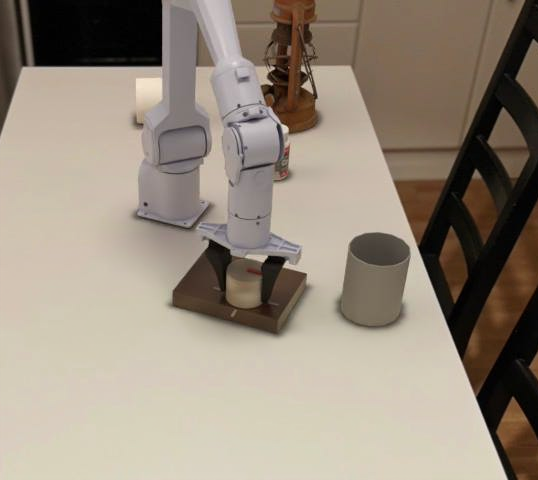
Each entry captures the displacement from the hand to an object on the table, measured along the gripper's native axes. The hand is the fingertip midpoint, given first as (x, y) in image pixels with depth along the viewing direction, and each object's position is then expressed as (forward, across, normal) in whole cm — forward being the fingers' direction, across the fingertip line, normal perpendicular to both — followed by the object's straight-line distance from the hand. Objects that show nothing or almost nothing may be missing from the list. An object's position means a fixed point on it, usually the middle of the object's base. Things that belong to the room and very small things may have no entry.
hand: (245, 293), depth 128 cm
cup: (+3, +16, +8) cm, 18 cm away
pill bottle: (+3, -10, +38) cm, 39 cm away
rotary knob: (+1, 0, 0) cm, 1 cm away
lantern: (+3, -16, +59) cm, 61 cm away
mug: (+3, -37, +50) cm, 62 cm away
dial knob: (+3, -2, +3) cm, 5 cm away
